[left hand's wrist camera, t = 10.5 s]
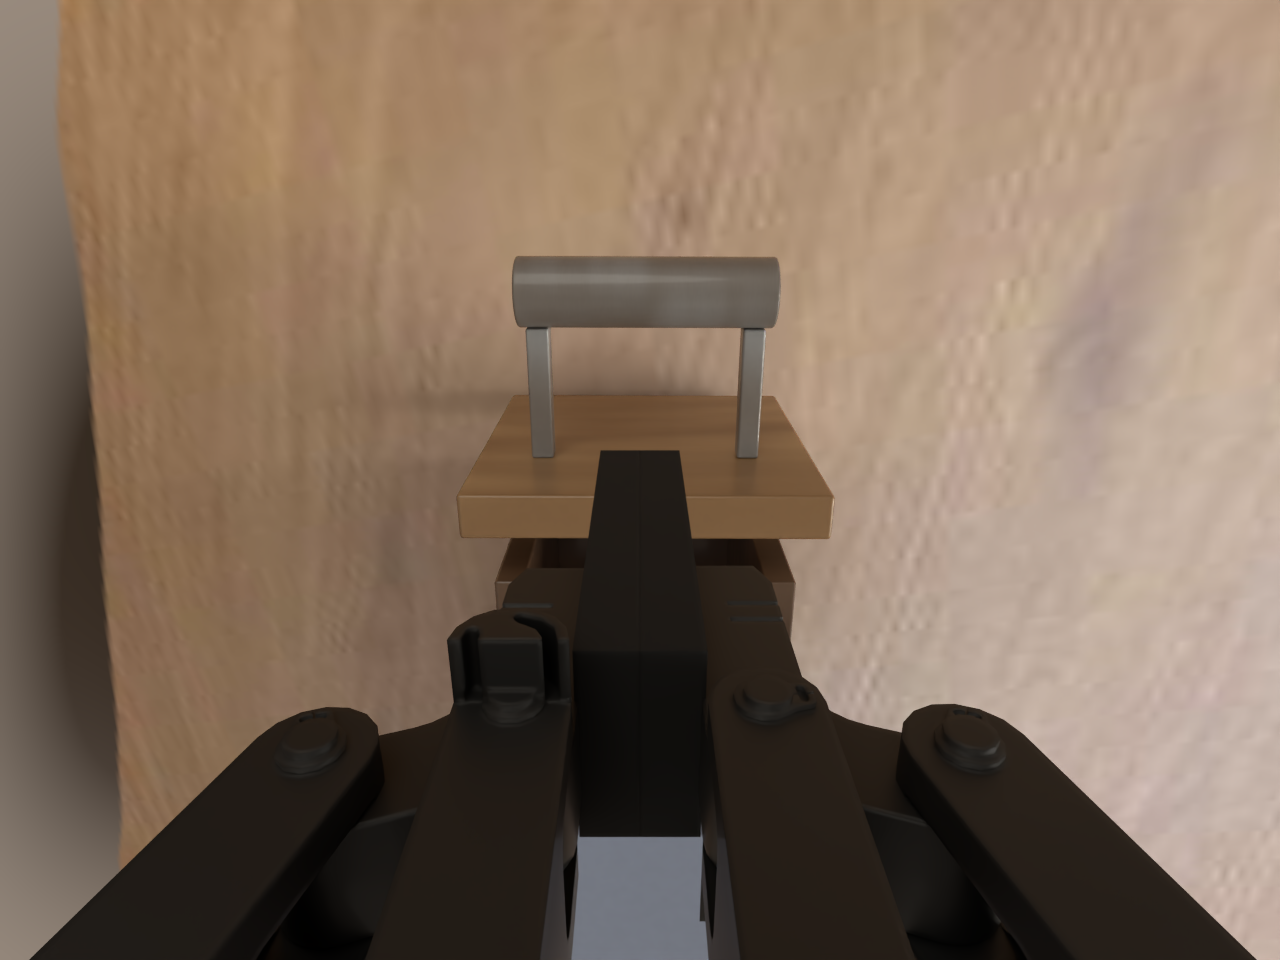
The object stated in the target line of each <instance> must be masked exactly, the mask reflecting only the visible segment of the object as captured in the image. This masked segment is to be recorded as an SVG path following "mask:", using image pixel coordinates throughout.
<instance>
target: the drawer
mask: <svg viewBox="0 0 1280 960" xmlns="http://www.w3.org/2000/svg"><path fill="white" fill-rule="evenodd" d="M780 291H781V277H780V267H779V262H778V259H777V258H775V257H628V256H517V257H516V258H515V260H514V264H513V272H512V299H513V309H514V316H515V320H516V323H517V325H518V326H519V327H527V329H526V347H527V366H528V385H529V395H515V396H513V398H512V399H511V401H510V403H509V405H508V406H507V408H506V410H505V412H504V414H503V415H502V417H501V419H500V421H499V422H498V424H497V426H496V428H495V430H494V431H493V433H492V435H491V437H490V438H489V440H488V442H487V444H486V445H485V447H484V449H483V451H482V453H481V454H480V456H479V458H478V460H477V461H476V463H475V465H474V467H473V469H472V470H471V472H470V474H469V476H468V477H467V479H466V481H465V483H464V484H463V486H462V488H461V490H460V492H459V493H458V495H457V507H458V518H459V529H460V535H461V537H462V538H511V539H510V541H509V544H508V547H507V550H506V553H505V556H504V558H503V561H502V564H501V567H500V570H499V573H498V575H497V578H496V581H495V592H496V605H497V610H499V609H501V608H502V604H503V601H504V597H505V594H506V591H507V588H508V585H509V584H510V583H511V582H512V581H513V580H514V579H515V578H517V577H518V576H519V575H520V574H521V573H522V572H523V571H524V570H525V569H527V568H584V564H585V557H586V550H587V543H588V536H589V529H590V522H591V514H592V507H593V500H594V493H595V486H596V479H597V472H598V465H599V458H600V451H601V450H679V451H680V458H681V465H682V472H683V479H684V486H685V493H686V500H687V507H688V515H689V522H690V529H691V536H692V543H693V550H694V557H695V564H696V566H754V567H755V568H756V569H757V570H758V571H760V572H761V573H762V574H763V575H764V576H765V577H766V578H767V579H769V580H770V581H771V582H772V585H773V588H774V591H775V594H776V597H777V601H778V605H779V607H780V610H781V613H782V616H783V622H785V626H786V629H787V632H788V635H789V638H790V641H791V630H792V619H793V608H794V596H795V585H796V583H795V580H794V578H793V575H792V572H791V570H790V567H789V564H788V562H787V559H786V557H785V554H784V551H783V549H782V546H781V543H780V541H779V539H829V538H830V536H831V529H832V520H833V510H834V501H835V498H834V496H833V494H832V492H831V491H830V489H829V487H828V486H827V484H826V482H825V481H824V479H823V477H822V476H821V474H820V472H819V471H818V469H817V467H816V466H815V464H814V462H813V460H812V459H811V457H810V455H809V454H808V452H807V450H806V449H805V447H804V445H803V444H802V442H801V440H800V439H799V437H798V435H797V434H796V432H795V430H794V429H793V427H792V425H791V424H790V422H789V420H788V419H787V417H786V415H785V414H784V412H783V410H782V409H781V407H780V405H779V404H778V402H777V400H776V399H775V397H774V396H762V385H763V370H764V354H765V339H766V331H765V329H764V328H773V327H774V326H775V324H776V321H777V318H778V312H779V305H780ZM551 327H578V328H741V338H740V357H739V376H738V395H737V396H581V395H553V375H552V350H551Z"/></svg>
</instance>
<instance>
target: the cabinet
mask: <svg viewBox="0 0 1280 960" xmlns="http://www.w3.org/2000/svg"><path fill="white" fill-rule="evenodd" d="M577 848H578V872H579V876H578V888H577V900H576V912H575V924H574V936H573V948H572V960H709V959H708V947H707V935H706V923H705V921H700V897H701V872H702V848H703V837H702V827H701V837H579V830H578V841H577Z"/></svg>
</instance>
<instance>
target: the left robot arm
mask: <svg viewBox="0 0 1280 960" xmlns="http://www.w3.org/2000/svg"><path fill="white" fill-rule="evenodd" d="M447 644H448V653H449V662H450V671H451V680H452V689H453V699H454V704H453V707H452V709H451V712H450V714H449V715H447V716H445V717H443V718H441V719H438V720H436V721H434V722H432V723H429V724H425V725H422V726H419V727H415V728H411V729H407V730H402V731H398V732H394V733H389V734H385V735H380V736H379V734H378V728H377V725H376V724H375V723H374V722H373V721H372V719H371V718H370V717H369V716H368V715H367V714H365V713H362V712H359V711H356V710H354V709H351V708H337V707H325V708H320V709H315V710H311V711H306V712H301V713H299V714H297V715H294V716H292V717H290V718H287V719H285V720H283V721H281V722H278V723H277V724H275V725H274V726H273V727H271V728H270V729H268V730H267V731H266V732H264V733H263V734H262V735H260V736H259V737H258V738H257V739H256V740H254V741H253V742H252V743H251V744H250V745H249V746H248V747H247V748H246V749H245V750H244V751H243V752H242V753H241V754H240V755H239V756H238V757H237V758H236V759H235V760H234V761H233V762H232V763H231V764H230V765H229V766H228V767H227V768H226V769H225V770H224V771H223V772H222V773H221V774H220V775H219V776H218V777H216V778H215V779H214V780H213V781H212V782H211V783H210V784H209V785H208V786H207V787H206V788H205V789H204V790H203V791H202V792H201V793H200V794H199V795H198V796H197V797H196V798H195V799H194V800H193V801H192V802H191V803H190V804H189V805H188V806H187V807H186V808H185V809H184V810H183V811H182V812H181V813H180V814H178V815H177V816H176V817H175V818H174V819H173V820H172V821H171V822H170V823H169V824H168V825H167V826H166V827H165V828H164V829H163V830H162V831H161V832H160V833H159V834H158V835H157V836H156V837H155V838H154V839H153V840H152V841H151V842H150V843H149V844H148V845H147V846H146V847H145V848H144V849H143V850H142V851H140V852H139V853H138V854H137V855H136V856H135V857H134V858H133V859H132V860H131V861H130V862H129V863H128V864H127V865H126V866H125V867H124V868H123V869H122V870H121V871H120V872H119V873H118V874H117V875H116V876H115V877H114V878H113V879H112V880H111V881H110V882H109V883H108V884H107V885H106V886H105V887H104V888H102V889H101V890H100V891H99V892H98V893H97V894H96V895H95V896H94V897H93V898H92V899H91V900H90V901H89V902H88V903H87V904H86V905H85V906H84V907H83V908H82V909H81V910H80V911H79V912H78V913H77V914H76V915H75V916H74V917H73V918H72V919H71V920H70V921H69V922H68V923H67V924H66V925H64V926H63V928H61V929H60V930H59V931H58V932H57V933H56V934H55V935H54V936H53V937H52V938H51V939H50V940H49V941H48V942H47V943H46V944H45V945H44V946H43V947H42V948H41V949H40V950H39V951H38V952H37V953H36V954H35V955H34V956H33V957H32V958H31V959H30V960H572V948H573V936H574V924H575V912H576V900H577V888H578V876H579V872H578V848H577V841H578V830H579V837H701V827H702V837H703V848H702V872H701V897H700V921H705V923H706V935H707V947H708V959H709V960H1256V959H1255V958H1254V957H1253V956H1252V955H1251V954H1250V953H1249V952H1248V951H1247V950H1246V949H1245V948H1244V947H1243V946H1242V945H1241V944H1240V943H1239V942H1238V941H1237V940H1236V939H1235V938H1234V937H1233V936H1232V935H1230V934H1229V933H1228V932H1227V931H1226V930H1225V929H1224V928H1223V927H1222V926H1221V925H1220V924H1219V923H1218V922H1217V921H1216V920H1215V919H1214V918H1213V917H1212V916H1211V915H1210V914H1209V913H1208V912H1207V911H1206V910H1205V909H1204V908H1203V907H1202V906H1200V905H1199V904H1198V903H1197V902H1196V901H1195V900H1194V899H1193V898H1192V897H1191V896H1190V895H1189V894H1188V893H1187V892H1186V891H1185V890H1184V889H1183V888H1182V887H1181V886H1180V885H1179V884H1178V883H1177V882H1176V881H1175V880H1174V879H1173V878H1172V877H1170V876H1169V875H1168V874H1167V873H1166V872H1165V871H1164V870H1163V869H1162V868H1161V867H1160V866H1159V865H1158V864H1157V863H1156V862H1155V861H1154V860H1153V859H1152V858H1151V857H1150V856H1149V855H1148V854H1147V853H1146V852H1145V851H1144V850H1143V849H1141V848H1140V847H1139V846H1138V845H1137V844H1136V843H1135V842H1134V841H1133V840H1132V839H1131V838H1130V837H1129V836H1128V835H1127V834H1126V833H1125V832H1124V831H1123V830H1122V829H1121V828H1120V827H1119V826H1118V825H1117V824H1116V823H1115V822H1114V821H1113V820H1111V819H1110V818H1109V817H1108V816H1107V815H1106V814H1105V813H1104V812H1103V811H1102V810H1101V809H1100V808H1099V807H1098V806H1097V805H1096V804H1095V803H1094V802H1093V801H1092V800H1091V799H1090V798H1089V797H1088V796H1087V795H1086V794H1085V793H1084V792H1083V791H1081V790H1080V789H1079V788H1078V787H1077V786H1076V785H1075V784H1074V783H1073V782H1072V781H1071V780H1070V779H1069V778H1068V777H1067V776H1066V775H1065V774H1064V773H1063V772H1062V771H1061V770H1060V769H1059V768H1058V767H1057V766H1056V765H1055V764H1054V763H1053V762H1051V761H1050V760H1049V759H1048V758H1047V757H1046V756H1045V755H1044V754H1043V753H1042V752H1041V751H1040V750H1039V749H1038V748H1037V747H1036V746H1035V745H1034V744H1033V743H1032V742H1031V741H1030V740H1029V739H1028V738H1027V737H1026V736H1025V735H1024V734H1022V733H1021V732H1020V731H1018V730H1017V729H1015V728H1014V727H1013V726H1011V725H1010V724H1009V723H1007V722H1006V721H1005V720H1003V719H1001V718H998V717H996V716H994V715H992V714H989V713H987V712H985V711H982V710H980V709H976V708H971V707H966V706H962V705H957V704H935V705H929V706H926V707H923V708H921V709H918V710H915V711H913V712H912V713H911V715H910V716H909V717H908V718H907V719H906V720H905V721H904V722H903V728H902V733H901V732H896V731H892V730H887V729H883V728H878V727H874V726H869V725H865V724H862V723H858V722H855V721H852V720H848V719H846V718H844V717H842V716H840V715H838V714H836V713H833V712H831V711H830V710H829V708H828V705H827V703H826V701H825V699H824V698H823V696H822V694H821V693H820V691H819V690H818V688H817V687H816V686H814V685H813V684H811V683H810V682H808V681H807V680H806V679H804V678H803V677H802V676H801V673H800V669H799V666H798V663H797V660H796V657H795V654H794V651H793V648H792V644H791V641H790V638H789V635H788V632H787V629H786V626H785V622H783V616H782V613H781V610H780V607H779V605H778V601H777V597H776V594H775V591H774V588H773V585H772V582H771V581H770V580H769V579H767V578H766V577H765V576H764V575H763V574H762V573H761V572H760V571H758V570H757V569H756V568H755V567H754V566H696V564H695V557H694V550H693V543H692V536H691V529H690V522H689V515H688V507H687V500H686V493H685V486H684V479H683V472H682V465H681V458H680V451H679V450H601V451H600V458H599V465H598V472H597V479H596V486H595V493H594V500H593V507H592V514H591V522H590V529H589V536H588V543H587V550H586V557H585V564H584V568H527V569H525V570H524V571H523V572H522V573H521V574H520V575H519V576H518V577H517V578H515V579H514V580H513V581H512V582H511V583H510V584H509V585H508V588H507V591H506V594H505V597H504V601H503V604H502V608H501V609H499V610H493V611H490V612H486V613H483V614H480V615H477V616H474V617H472V618H470V619H469V620H467V621H466V622H464V623H462V624H461V625H459V626H458V627H456V629H455V630H454V631H453V633H452V634H451V635H450V637H449V638H448V639H447Z"/></svg>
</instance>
